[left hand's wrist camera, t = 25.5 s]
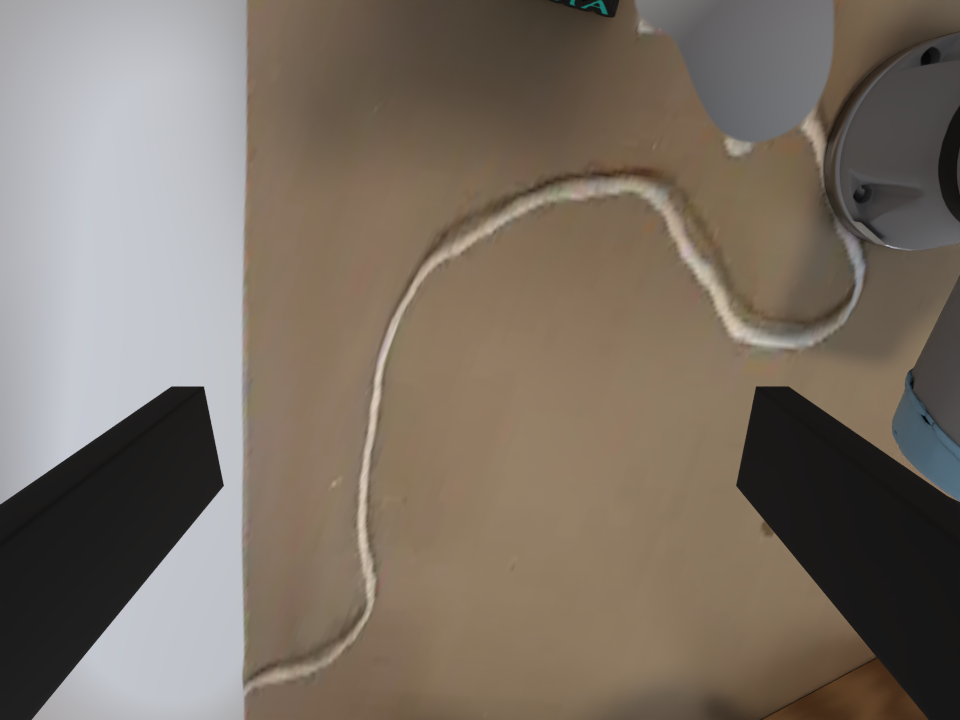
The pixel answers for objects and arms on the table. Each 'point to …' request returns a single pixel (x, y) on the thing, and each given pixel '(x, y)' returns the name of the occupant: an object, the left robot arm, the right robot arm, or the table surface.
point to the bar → (855, 699)
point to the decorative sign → (593, 6)
